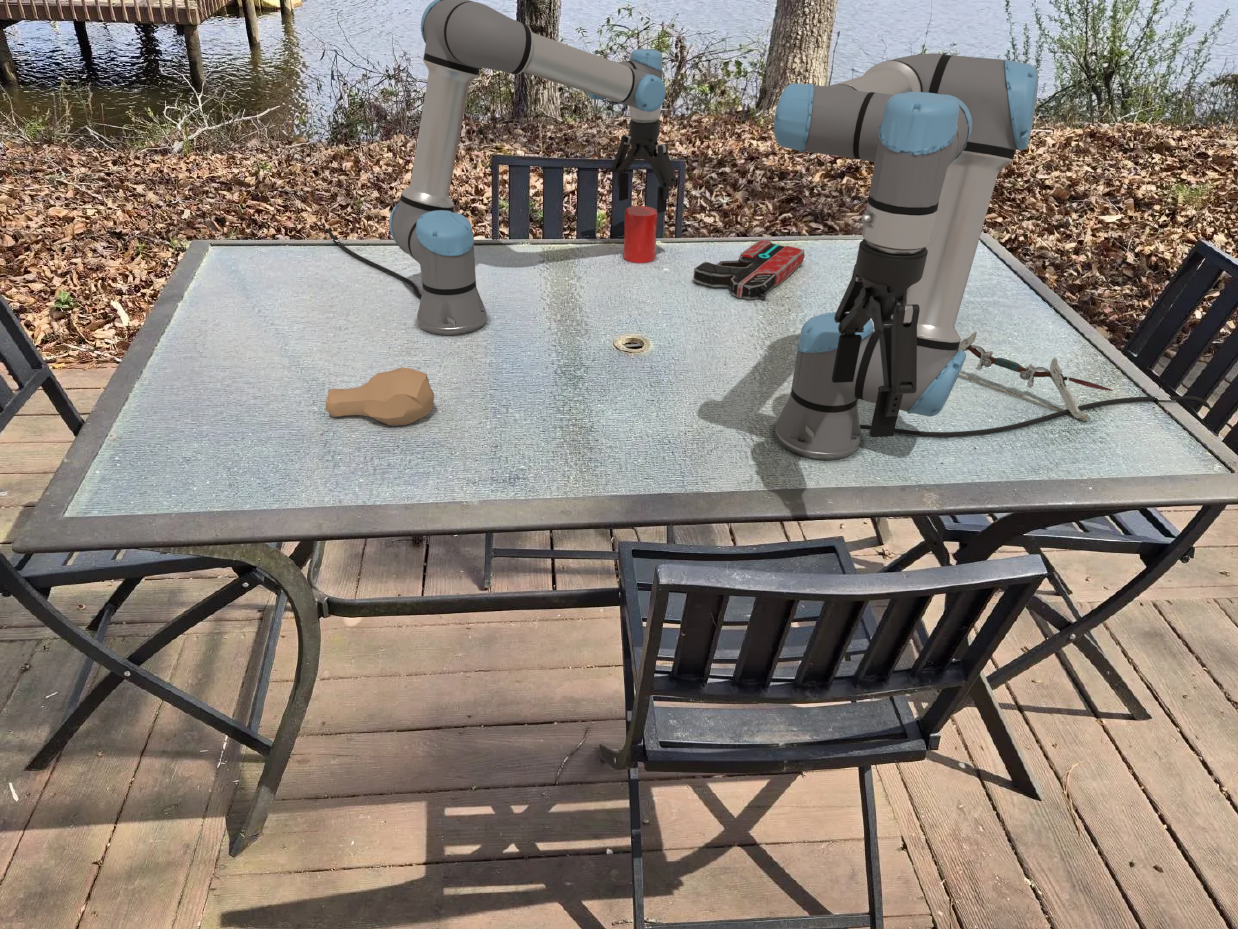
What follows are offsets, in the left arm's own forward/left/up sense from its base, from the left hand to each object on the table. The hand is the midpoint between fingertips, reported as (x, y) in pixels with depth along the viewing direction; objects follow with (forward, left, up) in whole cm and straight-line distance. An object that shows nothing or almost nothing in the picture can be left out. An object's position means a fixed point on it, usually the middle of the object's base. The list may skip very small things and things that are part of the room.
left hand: (642, 205), depth 226 cm
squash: (+27, -95, -14) cm, 100 cm away
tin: (0, 0, -14) cm, 14 cm away
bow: (+100, +2, -14) cm, 101 cm away
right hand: (+110, -73, +15) cm, 132 cm away
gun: (+28, +12, -14) cm, 33 cm away
